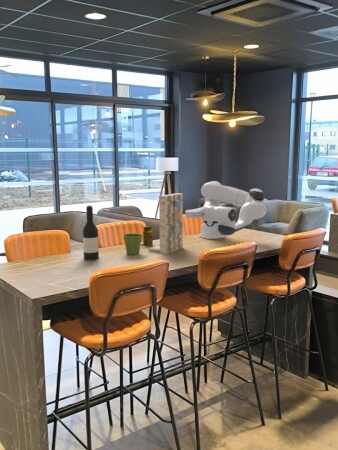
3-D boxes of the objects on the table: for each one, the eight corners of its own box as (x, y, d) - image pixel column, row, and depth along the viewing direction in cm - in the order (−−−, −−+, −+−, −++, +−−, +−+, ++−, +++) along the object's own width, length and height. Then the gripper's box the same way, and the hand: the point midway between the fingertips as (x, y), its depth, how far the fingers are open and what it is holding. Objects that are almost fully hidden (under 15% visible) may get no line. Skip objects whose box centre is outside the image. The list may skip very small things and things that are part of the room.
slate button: (173, 206, 264) (173, 199, 263) (181, 206, 261) (181, 199, 260) (169, 207, 260) (169, 199, 259) (177, 207, 257) (177, 200, 256)
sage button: (171, 232, 267) (171, 225, 266) (179, 233, 264) (179, 225, 263) (167, 233, 263) (167, 226, 263) (176, 234, 260) (176, 226, 259)
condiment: (155, 245, 281) (155, 227, 279) (143, 247, 276) (143, 228, 274) (149, 243, 287) (149, 225, 285) (138, 245, 282) (137, 226, 280)
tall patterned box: (166, 245, 280) (166, 192, 274) (182, 247, 273) (182, 193, 268) (148, 251, 263) (147, 195, 258) (165, 254, 257) (165, 196, 251)
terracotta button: (171, 219, 266) (171, 212, 265) (179, 220, 263) (179, 212, 262) (167, 220, 262) (167, 212, 261) (176, 220, 259) (176, 213, 258)
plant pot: (143, 255, 252) (142, 236, 251) (122, 256, 252) (122, 237, 250) (143, 251, 264) (142, 233, 262) (123, 251, 263) (123, 233, 262)
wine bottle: (80, 258, 246) (78, 205, 241) (92, 256, 252) (90, 204, 248) (90, 261, 241) (88, 207, 236) (101, 258, 247) (100, 205, 242)
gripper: (198, 221, 241) (177, 219, 248) (215, 216, 258) (194, 214, 265) (198, 209, 240) (177, 208, 247) (215, 205, 257) (194, 204, 264)
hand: (186, 211), depth 256 cm, fingers closed
